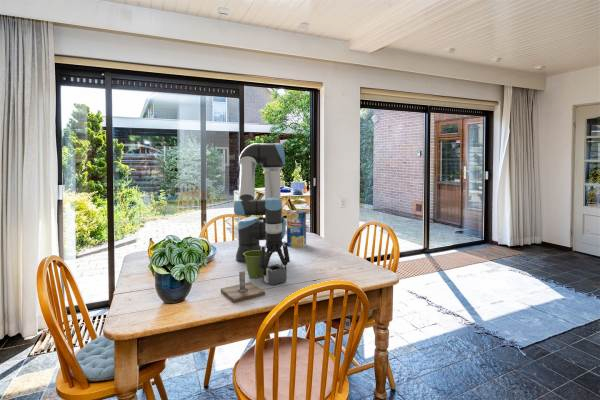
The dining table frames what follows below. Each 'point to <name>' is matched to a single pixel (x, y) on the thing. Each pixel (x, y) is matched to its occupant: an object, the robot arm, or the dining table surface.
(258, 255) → the plant pot
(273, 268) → the grey square block
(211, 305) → the dining table surface
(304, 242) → the beverage box
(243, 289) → the stand
